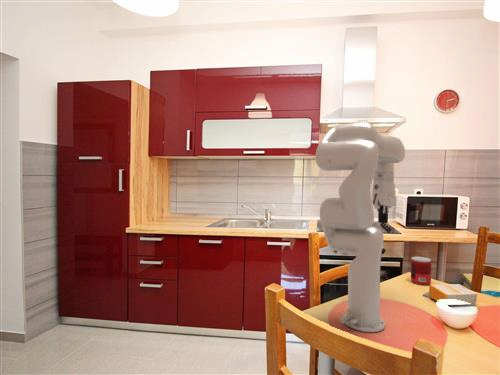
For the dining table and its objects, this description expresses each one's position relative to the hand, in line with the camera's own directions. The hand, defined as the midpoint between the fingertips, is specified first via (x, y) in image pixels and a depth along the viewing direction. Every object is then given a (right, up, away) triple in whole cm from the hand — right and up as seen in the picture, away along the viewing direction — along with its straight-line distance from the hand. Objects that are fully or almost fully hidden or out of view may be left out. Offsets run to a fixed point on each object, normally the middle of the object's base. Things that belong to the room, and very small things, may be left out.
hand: (383, 222), depth 120 cm
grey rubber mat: (+23, -29, 0) cm, 37 cm away
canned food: (+24, -29, +15) cm, 41 cm away
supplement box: (+16, -26, -8) cm, 32 cm away
